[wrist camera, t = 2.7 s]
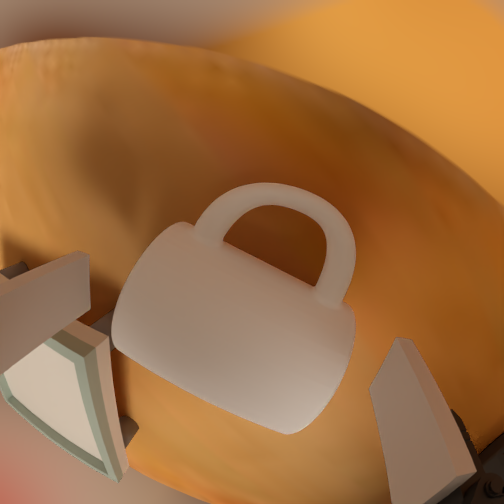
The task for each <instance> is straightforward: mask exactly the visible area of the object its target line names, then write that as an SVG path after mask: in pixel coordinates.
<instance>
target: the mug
mask: <svg viewBox="0 0 504 504" xmlns="http://www.w3.org/2000/svg"><path fill="white" fill-rule="evenodd" d="M263 205H278V206H284V207H288V208H291V209H294V210H296V211H299V212H301V213H303V214H305V215H307V216H309V217H311V218H312V219H313V220H315V221H316V222H317V223H318V224H319V225H320V226H321V228H322V229H323V231H324V233H325V236H326V241H327V253H326V259H325V263H324V267H323V269H322V272H321V275H320V277H319V280H318V282H317V284H316V285H315V286H314V287H313V286H311V285H309V284H307V283H305V282H303V281H301V280H299V279H297V278H295V277H293V276H291V275H289V274H287V273H286V272H284V271H282V270H280V269H278V268H276V267H274V266H272V265H270V264H268V263H266V262H264V261H262V260H260V259H258V258H256V257H254V256H252V255H250V254H248V253H246V252H244V251H242V250H240V249H238V248H236V247H235V246H233V245H231V244H229V243H227V242H225V241H223V238H224V236H225V235H226V233H227V232H228V230H229V229H230V228H231V226H232V225H233V224H234V223H235V222H236V221H237V220H238V219H239V218H240V217H241V216H242V215H243V214H245V213H246V212H248V211H250V210H251V209H254V208H256V207H259V206H263ZM355 261H356V246H355V240H354V236H353V233H352V230H351V228H350V226H349V224H348V222H347V221H346V219H345V218H344V217H343V215H342V214H341V213H340V212H339V211H338V210H337V209H336V208H335V207H334V206H333V205H331V204H330V203H329V202H327V201H326V200H324V199H323V198H321V197H319V196H317V195H315V194H313V193H311V192H309V191H306V190H303V189H301V188H297V187H294V186H290V185H285V184H279V183H253V184H247V185H243V186H240V187H237V188H234V189H232V190H230V191H228V192H226V193H224V194H223V195H221V196H220V197H218V198H217V199H216V200H215V201H213V202H212V203H211V204H210V205H209V206H208V208H207V209H206V210H205V211H204V212H203V214H202V215H201V216H200V218H199V219H198V221H197V222H196V224H195V226H193V225H192V224H190V223H187V222H178V223H175V224H173V225H171V226H170V227H168V228H167V229H165V230H164V231H163V232H162V233H160V234H159V235H158V236H157V237H156V238H155V239H154V240H153V241H152V243H151V244H150V245H149V246H148V247H147V249H146V250H145V251H144V252H143V254H142V255H141V257H140V258H139V259H138V261H137V263H136V264H135V266H134V267H133V269H132V271H131V272H130V274H129V276H128V278H127V280H126V282H125V284H124V286H123V288H122V291H121V293H120V295H119V298H118V301H117V304H116V307H115V310H114V314H113V319H112V326H111V336H112V341H113V344H114V346H115V347H116V348H117V349H118V350H119V351H120V352H122V353H123V354H125V355H126V356H128V357H129V358H131V359H132V360H134V361H136V362H137V363H139V364H140V365H142V366H143V367H145V368H147V369H148V370H150V371H152V372H153V373H155V374H157V375H158V376H160V377H162V378H164V379H165V380H167V381H169V382H171V383H172V384H174V385H176V386H178V387H180V388H181V389H183V390H185V391H187V392H189V393H191V394H193V395H195V396H197V397H199V398H201V399H203V400H205V401H207V402H209V403H211V404H213V405H215V406H217V407H219V408H221V409H224V410H226V411H228V412H230V413H232V414H235V415H237V416H239V417H242V418H244V419H246V420H249V421H251V422H254V423H256V424H259V425H261V426H264V427H266V428H269V429H272V430H274V431H277V432H280V433H283V434H293V433H296V432H298V431H300V430H302V429H304V428H305V427H306V426H308V425H309V424H310V423H311V422H312V421H313V420H314V419H315V418H316V417H317V416H318V415H319V414H320V413H321V412H322V411H323V409H324V408H325V407H326V405H327V404H328V403H329V401H330V400H331V398H332V396H333V395H334V393H335V391H336V390H337V388H338V386H339V384H340V382H341V380H342V378H343V376H344V373H345V371H346V369H347V366H348V363H349V360H350V357H351V354H352V350H353V346H354V340H355V332H356V321H355V315H354V312H353V310H352V308H351V307H350V306H349V305H348V304H347V303H345V302H343V301H342V300H343V298H344V296H345V294H346V292H347V290H348V287H349V285H350V282H351V279H352V276H353V272H354V268H355Z"/></svg>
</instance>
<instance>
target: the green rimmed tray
mask: <svg viewBox="0 0 504 504" xmlns="http://www.w3.org/2000/svg"><path fill="white" fill-rule="evenodd" d="M28 271H29V270H28V268H27V266H26V264H25V263H24V262H20V263H18V264H15V265H12V266H10V267H7V268H5V269H2V270H0V284H1V283H3V282H6V281H8V280H10V279H12V278H14V277H16V276H19V275H21V274H23V273H25V272H28ZM114 310H115V309H113V310H112V311H110V312H109V313H107V314H106V315H105V316H103V317H102V318H100V319H99V320H98V321H96V322H95V323H94V324H92V325H91V326H87V325H85V324H83V323H81V322H79V321H77V320H74V321H73V322H71V323H70V324H69V325H67V326H66V327H64V328H63V329H62V330H60V331H59V332H57V333H56V334H55V335H53V336H52V337H51V338H49V339H48V340H46V341H45V342H44V343H42V344H41V345H40V346H38V347H37V348H36V349H34V350H33V351H32V352H30V353H29V354H28V355H26V356H25V357H24V358H22V359H21V360H20V361H18V362H17V363H16V364H14V365H13V366H12V367H11V368H9V369H8V370H7V371H5V372H4V373H3V374H2V375H0V391H1V393H2V395H3V397H4V399H5V401H6V402H7V403H8V404H9V405H10V406H11V407H12V408H13V409H14V410H15V411H16V412H18V414H20V415H21V416H22V417H23V418H24V419H25V420H26V421H27V422H29V423H30V424H31V425H32V426H33V427H34V428H36V429H37V430H38V431H40V432H41V433H42V434H43V435H44V436H46V437H47V438H48V439H50V440H51V441H52V442H54V443H55V444H56V445H58V446H59V447H60V448H62V449H63V450H65V451H66V452H67V453H69V454H70V455H72V456H73V457H75V458H76V459H78V460H79V461H81V462H83V463H84V464H86V465H87V466H89V467H91V468H92V469H94V470H96V471H97V472H99V473H101V474H102V475H104V476H106V477H108V478H110V479H112V480H113V481H116V482H117V483H119V482H120V480H121V479H122V477H123V475H124V474H125V472H126V471H127V469H128V468H129V463H128V459H127V455H126V451H125V448H126V447H127V445H128V444H129V443H130V441H131V440H132V438H133V437H134V435H135V434H136V432H137V431H138V429H139V427H138V425H137V423H136V422H135V421H134V420H132V419H131V418H129V417H127V416H121V417H120V418H119V417H118V412H117V406H116V399H115V392H114V385H113V377H112V368H111V357H110V352H111V351H112V350H113V349H114V348H115V346H114V344H113V341H112V336H111V326H112V319H113V314H114Z"/></svg>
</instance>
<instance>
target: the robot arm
mask: <svg viewBox="0 0 504 504" xmlns="http://www.w3.org/2000/svg"><path fill="white" fill-rule="evenodd" d="M90 309H91V302H90V273H89V254H86V253H83V252H81V251H75V252H73V253H70V254H68V255H65V256H63V257H61V258H58V259H56V260H53V261H51V262H48V263H46V264H44V265H41V266H39V267H37V268H34V269H32V270H30V271H28V272H25V273H23V274H21V275H19V276H16V277H14V278H12V279H10V280H8V281H6V282H3V283H1V284H0V375H2V374H3V373H4V372H5V371H7V370H8V369H9V368H11V367H12V366H13V365H14V364H16V363H17V362H18V361H20V360H21V359H22V358H24V357H25V356H26V355H28V354H29V353H30V352H32V351H33V350H34V349H36V348H37V347H38V346H40V345H41V344H42V343H44V342H45V341H46V340H48V339H49V338H51V337H52V336H53V335H55V334H56V333H57V332H59V331H60V330H62V329H63V328H64V327H66V326H67V325H69V324H70V323H71V322H73V321H74V320H76V319H77V318H79V317H80V316H81V315H83V314H84V313H86V312H87V311H89V310H90ZM369 391H370V395H371V399H372V403H373V408H374V412H375V416H376V421H377V425H378V430H379V434H380V439H381V444H382V449H383V454H384V459H385V465H386V470H387V476H388V482H389V488H390V495H391V502H392V504H504V434H503V435H501V436H500V437H499V438H498V439H497V440H495V441H494V442H493V443H492V444H491V445H490V446H488V447H487V448H486V449H485V450H484V451H483V452H482V453H481V454H480V455H479V456H478V454H477V452H476V450H475V447H474V445H473V443H472V441H470V439H471V438H470V436H469V434H468V432H466V428H465V426H464V424H463V422H462V419H461V418H460V417H459V416H458V415H457V414H456V413H455V412H454V411H453V409H451V410H450V409H449V407H448V405H447V403H446V401H445V399H444V397H443V395H442V393H441V391H440V389H439V387H438V385H437V383H436V382H435V380H434V378H433V376H432V374H431V372H430V371H429V369H428V367H427V365H426V363H425V362H424V360H423V358H422V356H421V355H420V353H419V351H418V349H417V348H416V346H415V344H414V343H413V341H412V340H411V339H406V338H400V337H396V338H395V340H394V342H393V345H392V347H391V349H390V351H389V353H388V354H387V356H386V358H385V360H384V362H383V364H382V366H381V368H380V370H379V371H378V373H377V375H376V377H375V379H374V380H373V382H372V384H371V386H370V387H369Z"/></svg>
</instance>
